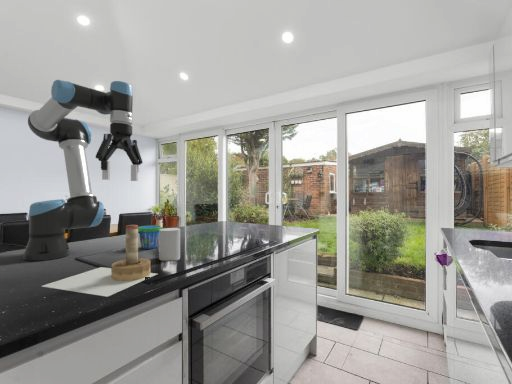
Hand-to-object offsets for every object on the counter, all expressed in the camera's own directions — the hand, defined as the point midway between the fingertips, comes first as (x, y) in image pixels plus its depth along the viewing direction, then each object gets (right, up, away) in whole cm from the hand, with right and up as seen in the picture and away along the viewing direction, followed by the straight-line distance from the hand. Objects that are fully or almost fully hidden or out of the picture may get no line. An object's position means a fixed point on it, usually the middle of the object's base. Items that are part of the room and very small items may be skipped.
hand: (121, 180), depth 102 cm
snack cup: (0, -32, +28) cm, 42 cm away
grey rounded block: (+16, -32, +7) cm, 36 cm away
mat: (+5, -32, -20) cm, 38 cm away
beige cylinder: (+11, -31, -16) cm, 37 cm away
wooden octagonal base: (+11, -31, -16) cm, 37 cm away
